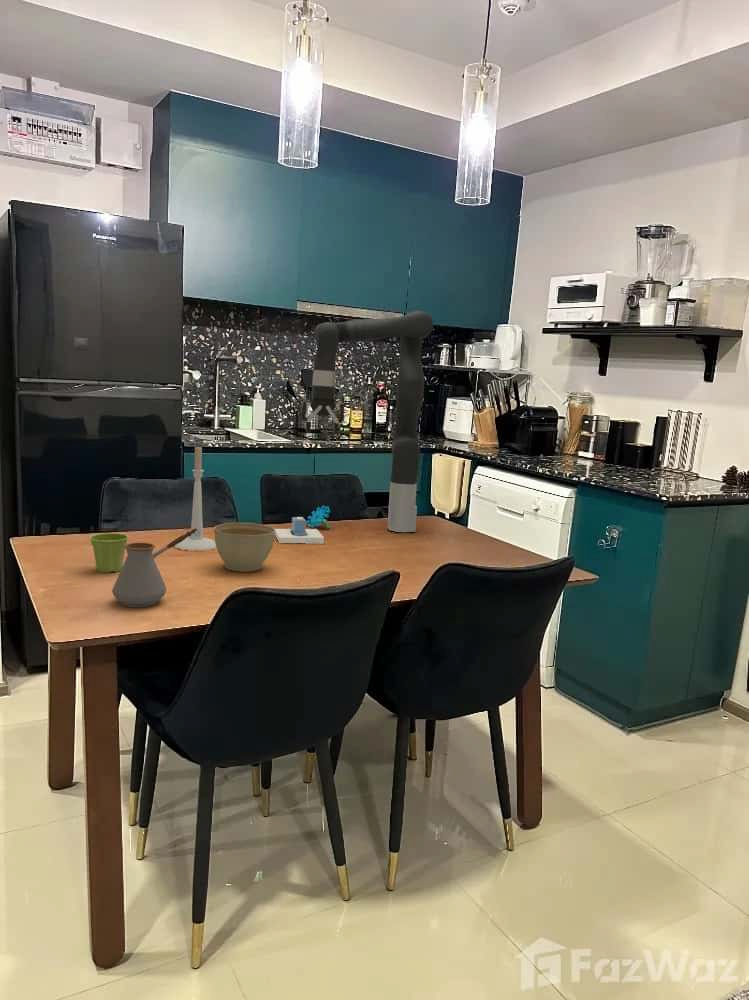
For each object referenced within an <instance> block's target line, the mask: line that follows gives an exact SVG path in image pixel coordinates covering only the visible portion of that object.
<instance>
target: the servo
mask: <svg viewBox="0 0 749 1000" xmlns="http://www.w3.org/2000/svg"><path fill="white" fill-rule="evenodd" d="M306 521H307V520H306V519H305V518H304V516H297V517H296V516H294V517H293V516H292V517H291V528H290V529H291V531H292V533H291V534H292V535H294V536H306V533H305V530H306V529H307V528H306V527H307V524H306Z"/></svg>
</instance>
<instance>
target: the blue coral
mask: <svg viewBox="0 0 749 1000" xmlns="http://www.w3.org/2000/svg"><path fill="white" fill-rule="evenodd" d="M330 513H331V510H330V507H329V506H328V505H327V506H325V505H322V506H321V507H320V506H318V507H317V508H316V511H315V510H312V512H311V514H312V516H311V515H309V516H308V517H307V519H308V520H306V525H307V524H308V525H311V527H314V528H315V527H317V528H318V527H320V526H321V525H322V526H323V527H325V526H326V527H325V528H327V529H328V528H331V527H330V526H329V524H328V522H329V521H328V520H327V519H328V518H329V517H330V515H329V514H330ZM325 518H326V519H325ZM311 527H310V528H311Z"/></svg>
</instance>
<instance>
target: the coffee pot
mask: <svg viewBox="0 0 749 1000" xmlns="http://www.w3.org/2000/svg"><path fill="white" fill-rule="evenodd" d="M196 531H198V530H197V529H196V528H195V529H193V530H191V529H190V531H187V532H186V533H184V534H182V535H179V536H178V537H177V538H175V539H173V541H171V542H170V543H168V544H167V545H165V546H164V547H162V548H161V549H159V550H157V551H155V552H154V553H153V550H154V549H155V548H156V546H155V544H153V543H149V542H132V543H126V545H125V551H126V553H127V556H126V557H125V560H124V561H123V566H122V569H121V570H120V571H119V574H118V576H117V577H116V578H117V579H116V580H115V582H114V585H113V588H112V589H111V592H112V595H113V597H114V598H115V600H117V601H118V602H120V603H121V605H123V606H125V607H131V608H144V607H145V608H146V607H151V606H154V605H156V604H157V603H158V601H160V600H162V598H163V597H164V596H165V595H166V592H167V585H166V584H165V581H164V579H163V577H162V574H161V572H160V570H159V568H158V566H157V563H156V561H155V558H156V557H158V556H159V555H161V554H163V553H164V552H165V551H167V550H169V549H171V548H173V547H174V546H175V545H177V544H178V543H180V542H182V541H183V540H184V539H186V538H188V537H190V536H191V534H192V533H195V532H196ZM198 532H199V531H198ZM199 534H200V532H199ZM195 535H196V536H198V535H197V534H196V533H195ZM199 536H200V535H199Z"/></svg>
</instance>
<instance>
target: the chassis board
mask: <svg viewBox="0 0 749 1000" xmlns="http://www.w3.org/2000/svg"><path fill="white" fill-rule="evenodd" d="M274 529H275V535H276V537H277V539H278V541H279V542H278V541H277V542H278V544H279V543H306V544H305V545H313V544H314V545H319V544H321V545H324V544H325V543H324V542H325V537H324V536H323V534H322V533H321V532H320V531H319V530H318V529H317V528H306V530H305V533H306V536H294V535H292V534H291V533H292V531H291V528H274ZM275 535H274V536H275ZM276 537H275V538H276ZM277 539H276V540H277Z"/></svg>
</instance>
